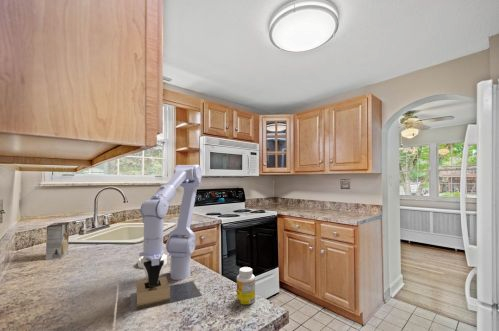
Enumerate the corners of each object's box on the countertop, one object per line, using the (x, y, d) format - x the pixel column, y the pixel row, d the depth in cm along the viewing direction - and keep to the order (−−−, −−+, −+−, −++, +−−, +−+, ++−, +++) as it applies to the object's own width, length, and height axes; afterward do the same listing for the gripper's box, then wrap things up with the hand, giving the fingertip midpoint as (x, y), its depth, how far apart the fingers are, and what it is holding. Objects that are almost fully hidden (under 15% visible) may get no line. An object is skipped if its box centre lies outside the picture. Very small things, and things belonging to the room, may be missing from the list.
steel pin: (147, 288, 74) (140, 258, 74) (160, 283, 76) (153, 253, 76) (147, 294, 71) (140, 262, 70) (161, 288, 72) (154, 257, 72)
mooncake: (138, 262, 108) (138, 254, 109) (165, 258, 113) (165, 250, 113) (137, 271, 97) (137, 262, 98) (167, 266, 102) (168, 258, 102)
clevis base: (130, 296, 76) (131, 280, 76) (192, 283, 85) (192, 269, 85) (130, 315, 65) (131, 297, 65) (202, 298, 74) (202, 282, 74)
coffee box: (52, 254, 119) (54, 222, 120) (68, 253, 121) (69, 221, 122) (45, 260, 111) (46, 225, 112) (61, 258, 113) (63, 224, 114)
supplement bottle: (237, 299, 74) (237, 265, 74) (255, 299, 74) (254, 265, 74) (236, 308, 68) (236, 272, 69) (255, 308, 68) (255, 272, 69)
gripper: (138, 234, 79) (137, 275, 78) (140, 244, 66) (139, 294, 65) (161, 232, 82) (160, 272, 81) (167, 241, 69) (166, 289, 68)
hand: (152, 281), depth 73 cm, fingers closed on steel pin, 3 cm apart
